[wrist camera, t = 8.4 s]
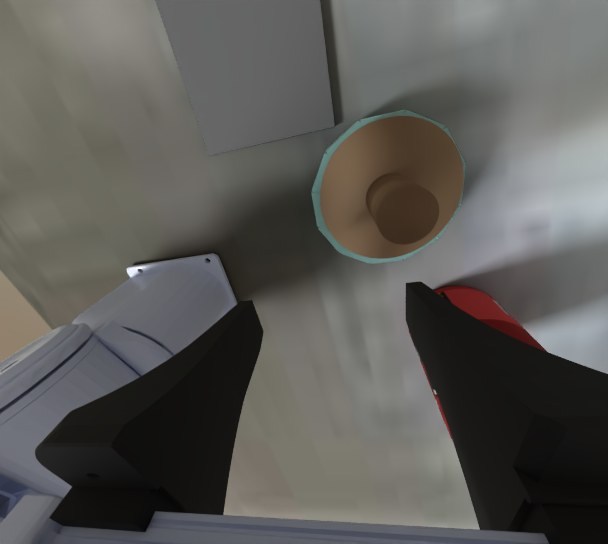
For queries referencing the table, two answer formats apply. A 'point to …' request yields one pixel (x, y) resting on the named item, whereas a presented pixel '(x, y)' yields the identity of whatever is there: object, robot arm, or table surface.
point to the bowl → (319, 177)
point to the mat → (251, 68)
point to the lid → (391, 187)
